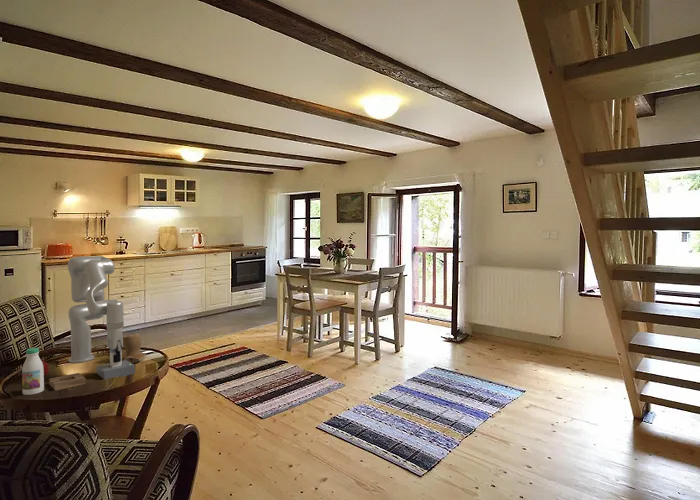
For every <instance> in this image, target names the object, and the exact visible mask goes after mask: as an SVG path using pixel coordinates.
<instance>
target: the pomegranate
mask: <svg viewBox="0 0 700 500" xmlns="http://www.w3.org/2000/svg"><path fill="white" fill-rule="evenodd" d="M40 360H41V361H42V363H43V369H44V377H45V376H47V375H48V374H49V371H50V367H49V364H48V363H47V362H46V361H48V360H47V359H44V360H42V359H41V358H40Z"/></svg>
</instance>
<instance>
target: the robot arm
mask: <svg viewBox="0 0 700 500" xmlns="http://www.w3.org/2000/svg"><path fill="white" fill-rule="evenodd" d="M115 267H116V266H115V263H114V262H113V260H112V259H110V258H108V257H106V256H103V255H91V256H89V255H86V256H85V255H84V256H82V255H81V256H74V257H71V258H70V259H69V260H68V262H67V270H68V273H69V275H70V281H71V284H70V285H71V289H70V290H71V299H72V302H74V303H81V304H76V305H73V306H71V307H70V308H69V309H68V319H69V325H70V342H71V343H70V349H71V350H70V351H71V357H69V358H68V359H67V361H68V363H73V364H76V363H77V364H79V363H85V362H89V361H92V360H94V359H95V355H93V354H92V330H91V326H90V325H89V324H88V323H87V321H88V322H89V321H92V320H98V319H102V318H103V317H104V316H105V315H106V330H107V332H106V347H107V348H109V350H110V349H112V350H114V355H113V359H114V363H116V362H120V361H121V352H122V351H121V348H122V349H123V348H124V346H123V336H124V335H123V330H124V326H125V324H124V323H125V322H124V320H125V319H124V303H123V302H122V301H119V300H117V299H105V291H104V289H105V288H107V287H108V285H109V280H108V278H107V275H111V274H113V273H114V272H115ZM82 303H83V304H82ZM116 347H118V348H116Z"/></svg>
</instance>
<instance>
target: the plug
mask: <svg viewBox="0 0 700 500" xmlns="http://www.w3.org/2000/svg"><path fill="white" fill-rule="evenodd" d="M116 348H118V347H116ZM122 350H123V347H122V348H121V361H120V362H116V363H114V359H113V355H114V350H112V349H110V348H109V364H110V368H113V367H117V366H122V361H123V358H122V356H123V355H122Z"/></svg>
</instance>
